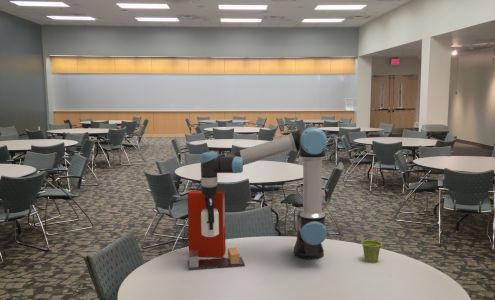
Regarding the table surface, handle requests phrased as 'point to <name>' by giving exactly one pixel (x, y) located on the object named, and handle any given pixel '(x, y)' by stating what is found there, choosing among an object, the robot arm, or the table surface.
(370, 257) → the plant pot
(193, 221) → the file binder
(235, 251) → the block
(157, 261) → the table surface
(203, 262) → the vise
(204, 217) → the beverage can
